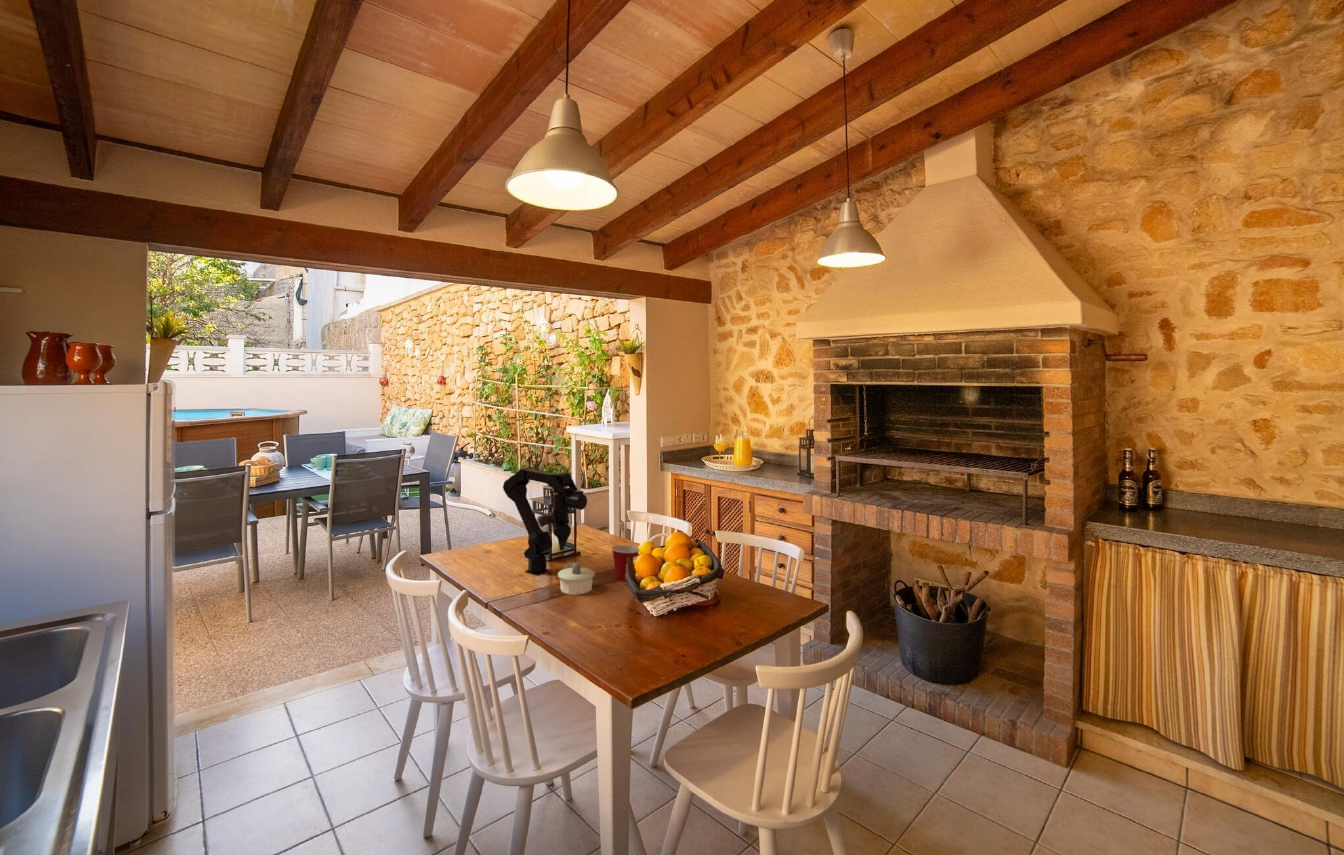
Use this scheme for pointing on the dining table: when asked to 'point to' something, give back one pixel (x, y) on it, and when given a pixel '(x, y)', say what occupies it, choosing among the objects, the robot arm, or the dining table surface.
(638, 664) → the dining table surface
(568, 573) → the lid
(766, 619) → the dining table surface
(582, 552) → the dining table surface
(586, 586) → the bowl
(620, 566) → the plastic cup
